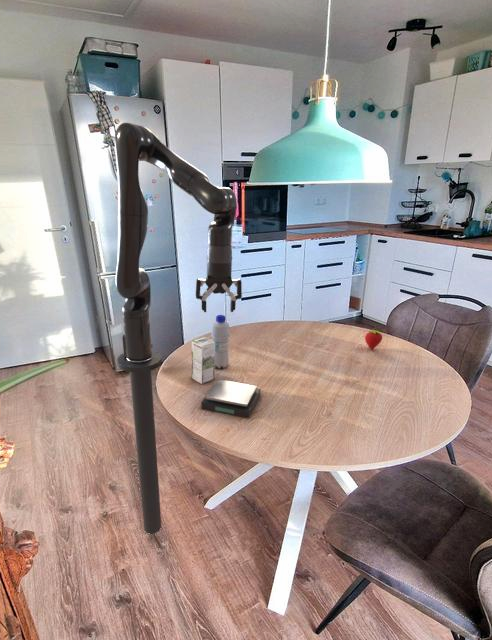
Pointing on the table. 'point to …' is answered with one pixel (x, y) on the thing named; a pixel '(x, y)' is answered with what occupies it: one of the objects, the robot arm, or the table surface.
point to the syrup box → (203, 360)
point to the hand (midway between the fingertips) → (218, 311)
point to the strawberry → (373, 338)
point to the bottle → (220, 341)
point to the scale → (231, 406)
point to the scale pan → (232, 392)
